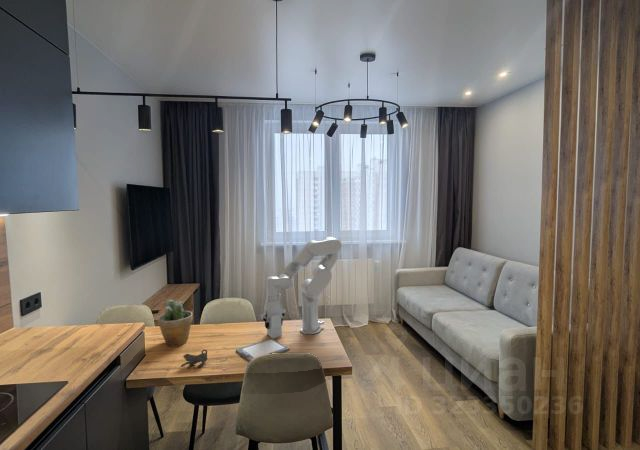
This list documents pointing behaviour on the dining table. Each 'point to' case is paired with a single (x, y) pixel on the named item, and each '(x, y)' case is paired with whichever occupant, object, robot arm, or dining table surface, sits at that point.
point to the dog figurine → (195, 359)
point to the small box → (275, 326)
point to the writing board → (261, 349)
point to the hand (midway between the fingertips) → (274, 326)
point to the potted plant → (175, 323)
